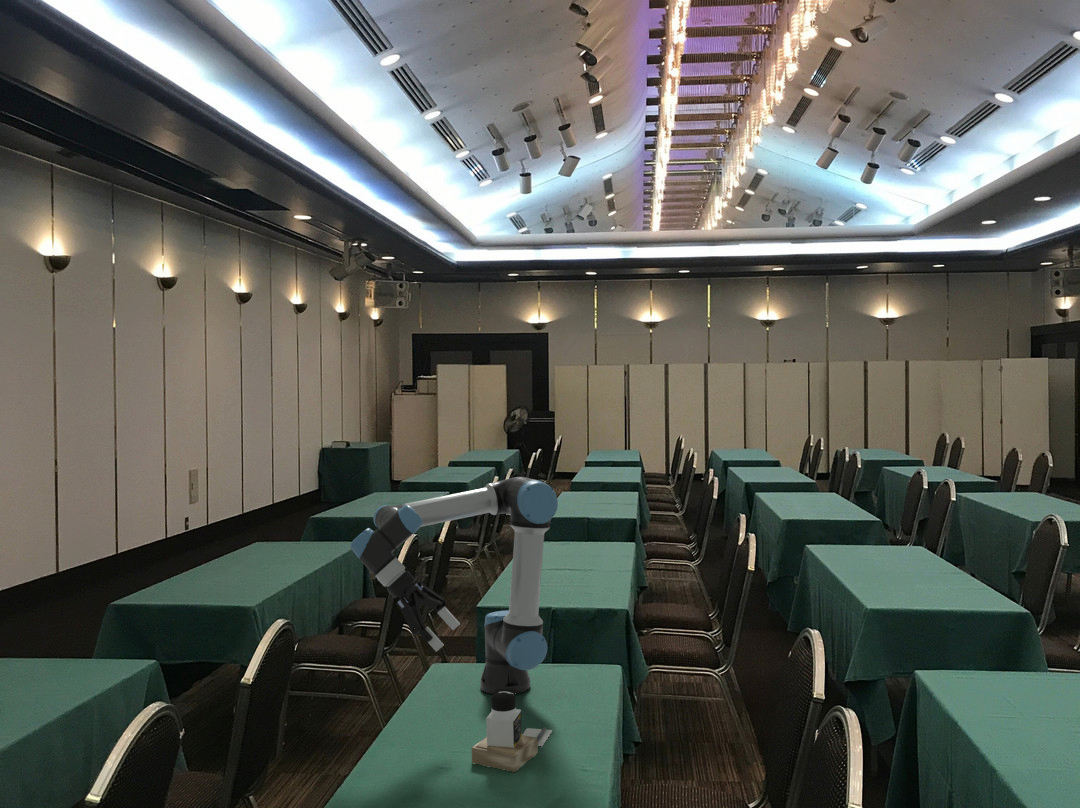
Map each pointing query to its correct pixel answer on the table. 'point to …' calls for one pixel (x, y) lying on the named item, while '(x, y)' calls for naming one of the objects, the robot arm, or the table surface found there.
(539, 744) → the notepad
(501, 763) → the beech tray
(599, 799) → the table surface
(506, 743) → the medicine bottle
